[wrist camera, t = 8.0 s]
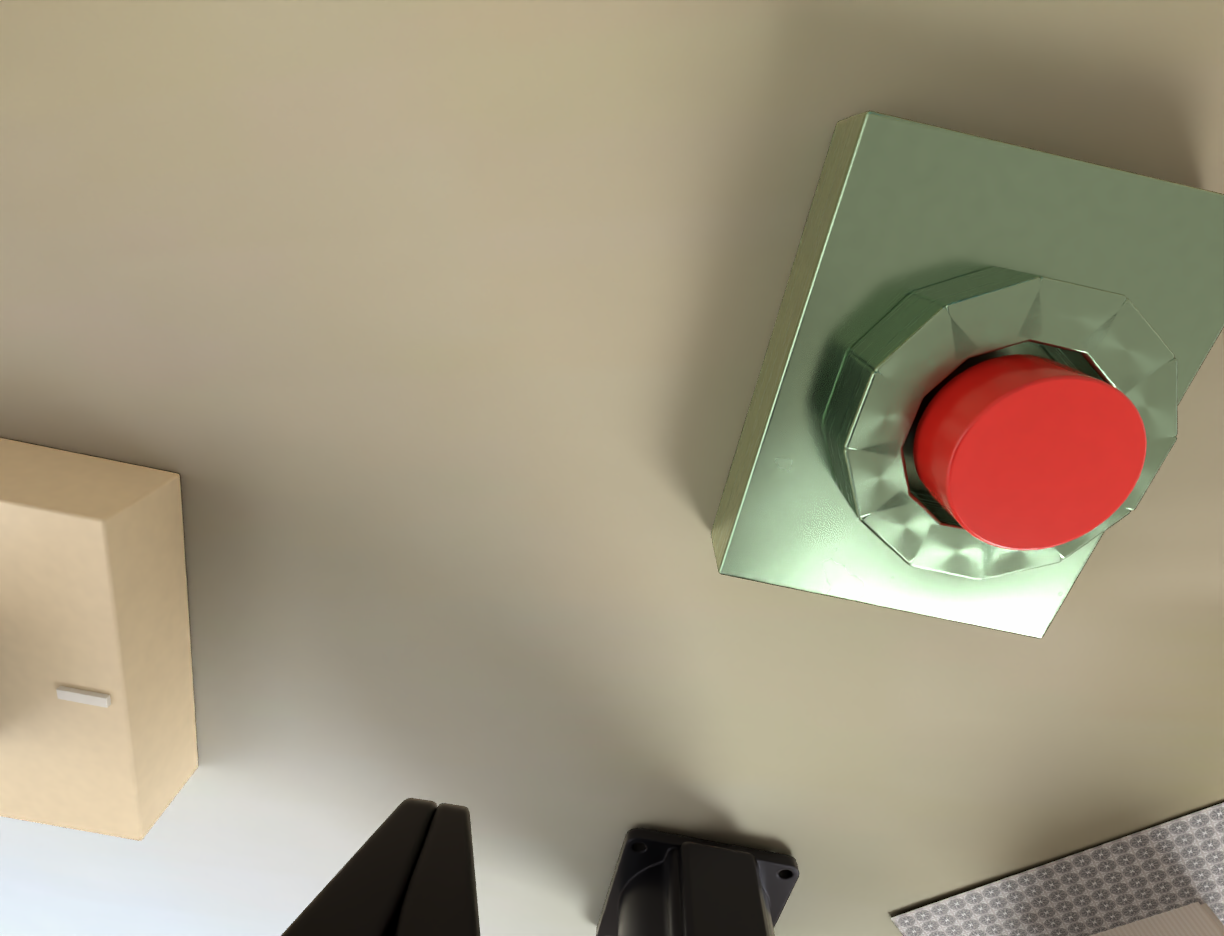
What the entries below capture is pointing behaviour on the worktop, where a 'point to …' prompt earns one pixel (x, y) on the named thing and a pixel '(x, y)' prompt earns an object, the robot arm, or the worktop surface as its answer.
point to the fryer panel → (92, 642)
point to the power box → (955, 356)
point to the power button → (1029, 451)
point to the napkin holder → (1100, 890)
